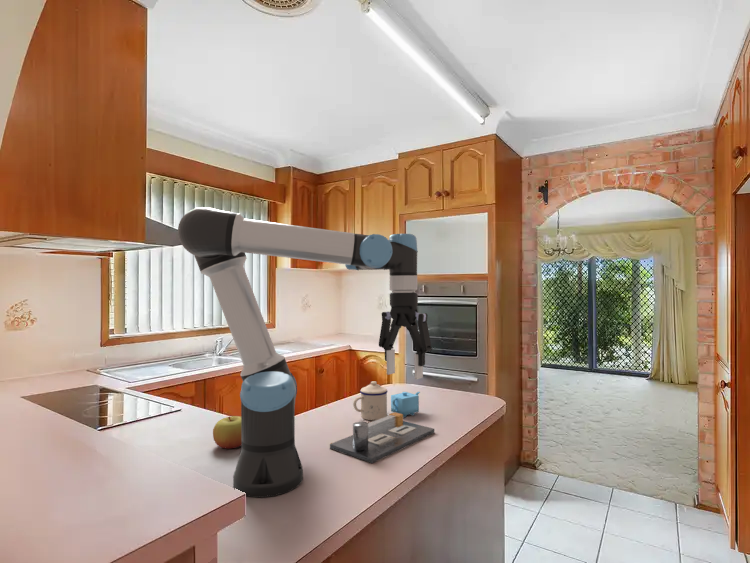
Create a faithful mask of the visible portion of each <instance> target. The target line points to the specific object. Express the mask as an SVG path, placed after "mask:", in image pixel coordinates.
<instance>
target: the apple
mask: <svg viewBox="0 0 750 563" xmlns="http://www.w3.org/2000/svg"><path fill="white" fill-rule="evenodd" d="M212 438H213V441H214V443H215V444H216V445H217V447H220V448H221V449H224V450H225V449H226V450H229V449H236V448H239V447H242V446H241V415H240V416H239V415H235V416H233V415H232V416H226V417H222V419H219V420H218V421H217V422H216V423H215V425H214V427H213V429H212Z"/></svg>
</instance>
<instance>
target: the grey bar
mask: <svg viewBox="0 0 750 563" xmlns="http://www.w3.org/2000/svg"><path fill="white" fill-rule="evenodd" d="M403 421H404V417H403V414H400V413H396V412H391V413H388V415H387V416H386V417H384V418H381V419H378V420H372V421H371V422H365V421H356V422H354V423H352V435H353V448H354V449H355V450H366V449H368V438H371V437H373V436H375V435H378V434H380V433H383V432H385V431H387V430H390V429H392V428H395V427H401V426H403Z"/></svg>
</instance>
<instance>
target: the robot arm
mask: <svg viewBox="0 0 750 563" xmlns="http://www.w3.org/2000/svg"><path fill="white" fill-rule="evenodd" d="M177 226H178V227H177V236H178V240H179V242H180V244H181V246H182V247H183V248H184V249H185V250H186V251H187V252H188V253H190V254H191V255H193V257H194V258H195V261H196V263H197V266H198V268H199V271H200V274H203V275H205V276H207V277H208V278H209V279H210V281H211V284H212V287H213V290H214V292H215V294H216V297H217V301H218V302H219V306H220V307H221V310H222V313H223V316H224V319H225V321H226V324H227V326H228V329H229V331H230V334H231V336H232V339H233V342H234V345H235V347H236V350H237V352H238V354H239V357H240V360H241V362H242V365H243V368H242V370H241V372H240V373H239V374H240V377H241V380H242V383H241V388H240V389H241V390H240V392H239V397H240V410H241V411H240V417H241V446H240V447H241V448H240V449H241V450H240V454H239V457H238V460H237V463H236V466H235V470H234V472H233V476H232V479H233V483H232V484H233V486H232V487H233V489H234V488H236V489H238V490H240V491H242V492H245V493H246V497H250V498H268V497H274V496H278V495H283V494H285V493H289V492H290V491H292V490H294V489H296V488H298V486H299V485H300V484H301V483H302V481H303V479H304V469H303V464H302V461H301V458H300V456H299V453H298V450H297V447H296V443H295V442H296V441H295V440H296V438H295V434H296V433H295V432H296V430H295V429H296V428H295V425H296V424H295V422H296V421H295V420H296V419H295V408H296V407H295V405H296V398H297V394H298V384H297V380H296V378H295V376H294V375H293V373H292V372H291V371H290V368H289V365H288V363H287V360H286V358H285V356H284V355H283V354H279V353H278V352H277V351H276V348H275V345H274V343H273V340H272V337H271V335H270V333H269V329H268V327H267V325H266V322H265V320H264V317H263V314H262V312H261V309H260V306H259V303H258V301H257V299H256V296H255V292H254V290H253V288H252V285H251V282H250V280H249V277H248V274H247V272H246V270H245V267H244V265H245V262H246V261H247V259H248V258H247V256H246V254H255V255H262V256H264V255H265V256H271V257H280V258H288V259H296V260H297V259H298V260H305V261H312V262H313V261H315V262H320V263H321V262H323V263H328V264H329V263H330V264H331V263H332V264H339V265H344V266H345V268H346V270H352V271H373V270H375V271H377V270H379V271H380V270H384V271H385V270H389V271H388V272H389V291H391V292H390V293H389V306H390V311H382V312H381V321H382V322H381V327H380V332H379V333H380V334H379V340H378V347H379V348H382V349H383V350H384V361H385V362H386V375H392V374H396V359H395V357H396V353H395V349H394V344H395V341H396V339H397V336H398V334H399V332H400V329H401V328H402V327H404V328H406V330H407V331H408V333H409V335H410V338H411V341H412V343H413V346H414V348H415V351H416V352H415V353H414V355H413V356H414V380H419V379H422V378H424V366H425V364H426V353H428V352H431V351H433V350H432V348H433V347H432V342H431V337H430V333H429V327H428V314H427V313H425V312H424V313H421V312H419V311H418V306H419V305H418V303H419V302H418V300H419V297H418V296H419V295H418V292H416V291H418V241H417V237H416V235H415V234H411V233H394V234H393V233H392V234H391V235H389V238H387V237H385V236H384V235H383V234H378V233H377V234H376V233H373V234H361V233H353V232H346V231H339V230H334V229H333V230H331V229H324V228H316V227H308V226H302V225H293V224H286V223H279V222H272V221H264V220H256V219H249V218H244V217H243V215H242V214H241V213H239V212H232V211H225V210H221V209H216V208H213V207H209V206H208V207H203V206H201V207H195V208H193V209H191V210H188V212H185V214H184V215H183V216H182V218H181V219H180V221H179V223H178V225H177Z"/></svg>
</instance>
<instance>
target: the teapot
mask: <svg viewBox="0 0 750 563" xmlns="http://www.w3.org/2000/svg"><path fill="white" fill-rule="evenodd" d="M420 393H421V391H417V392H415V394H414V393H413V392H412V393H411V392H408V391H402V392H401V393H396V394H391V395H390V412H391V413H393V412H396V413H400V414H403V418H407V415H410V416H415V413H419V412H420V408H419V406H420V404H419V403H420V400H419V399H420V396H419V394H420Z"/></svg>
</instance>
